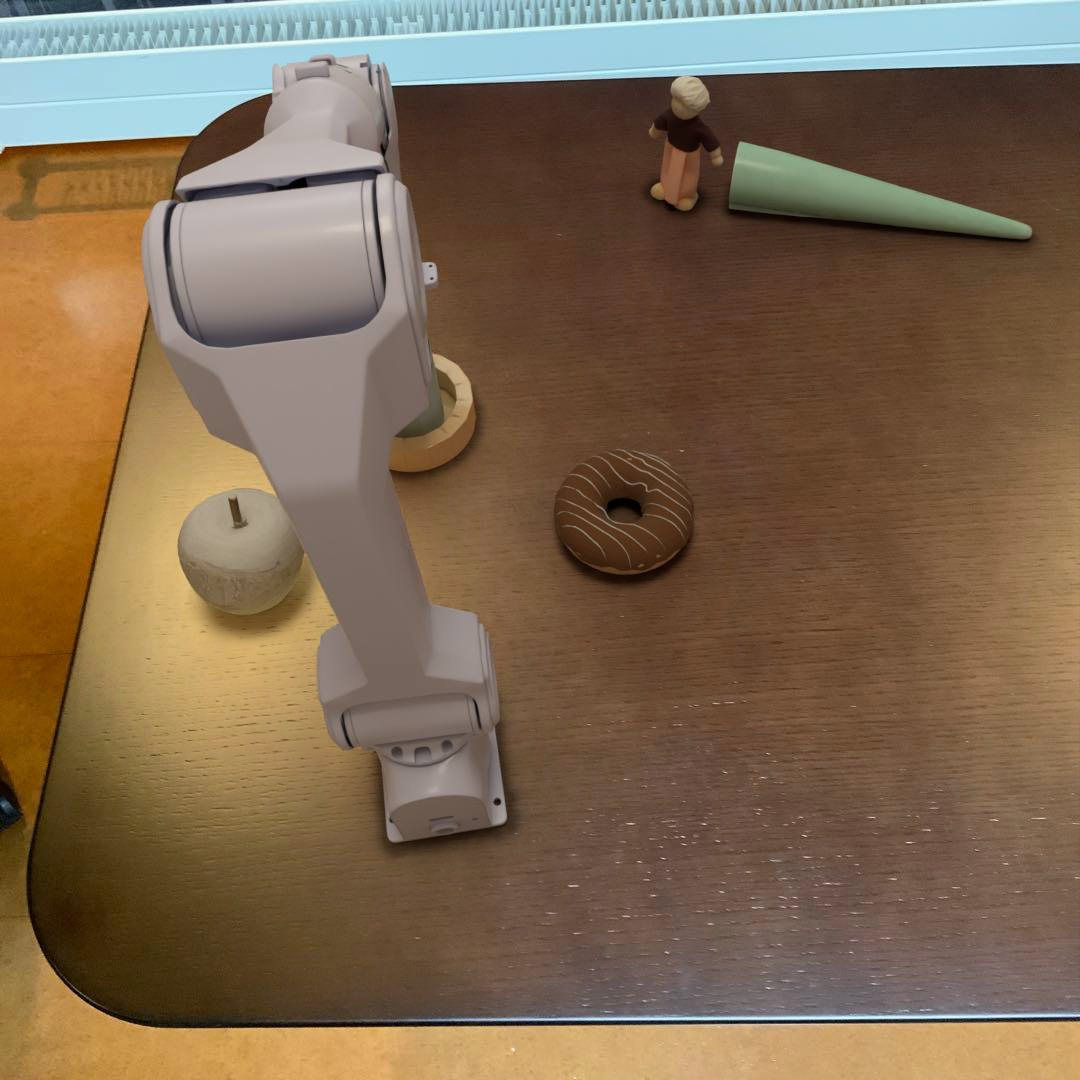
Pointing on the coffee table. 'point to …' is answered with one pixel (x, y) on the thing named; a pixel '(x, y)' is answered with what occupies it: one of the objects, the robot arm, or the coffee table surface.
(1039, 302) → the coffee table surface
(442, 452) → the holder
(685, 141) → the grandmother figurine
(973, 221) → the mint green cone
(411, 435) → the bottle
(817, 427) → the coffee table surface
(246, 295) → the robot arm
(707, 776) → the coffee table surface
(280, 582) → the decorative object
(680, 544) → the donut
